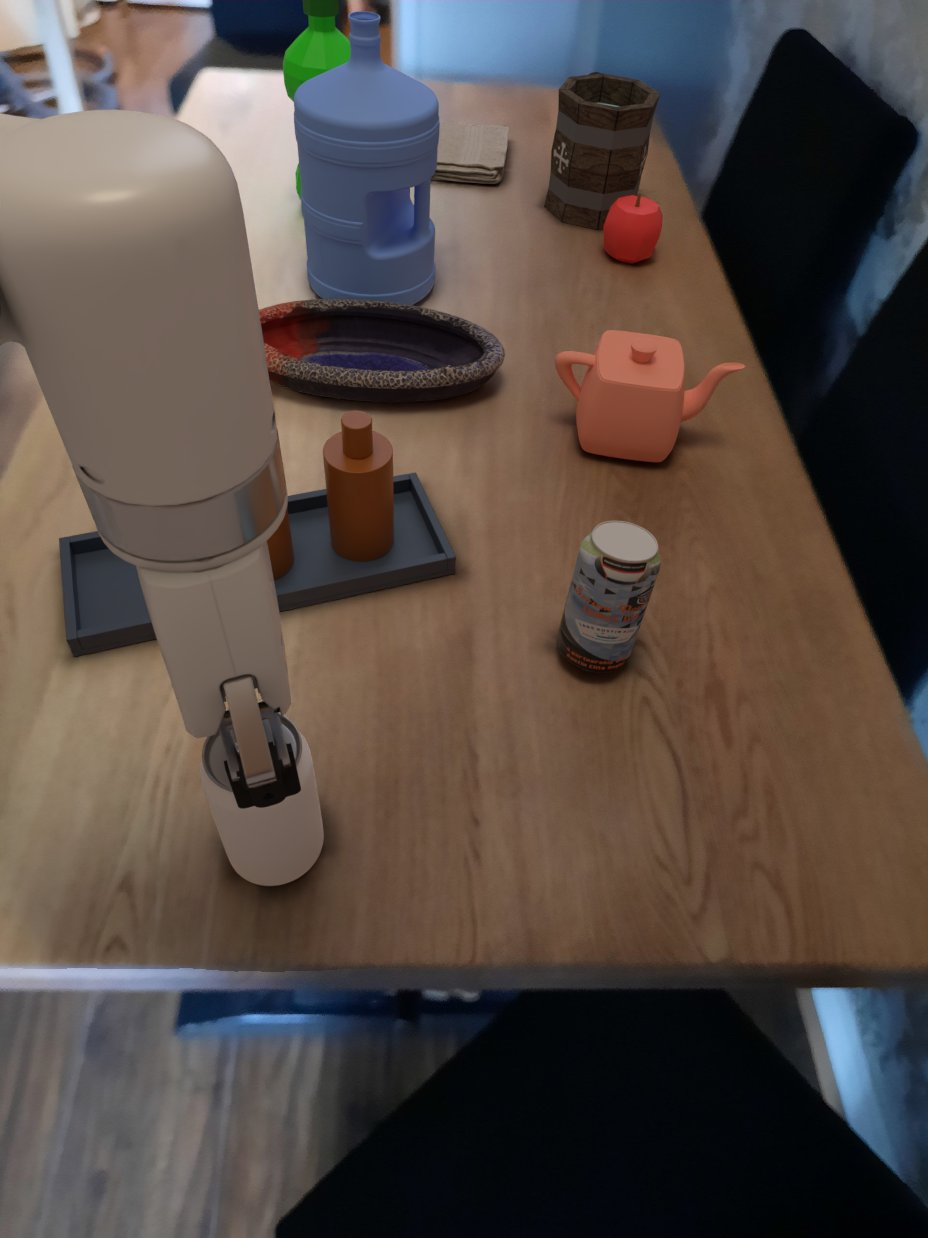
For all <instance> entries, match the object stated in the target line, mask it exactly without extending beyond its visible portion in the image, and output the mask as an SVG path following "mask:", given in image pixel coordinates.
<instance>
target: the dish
mask: <svg viewBox="0 0 928 1238" xmlns="http://www.w3.org/2000/svg"><path fill="white" fill-rule="evenodd" d="M259 316H260V322H261V328H262V335H263V341H264V348H265V354H266V362H267V369H268V375H269V381H270V382H272V383H274V384H276V385H279V386H281V387H283V388H285V389H288V390H291V391H295V392H299V393H303V394H307V395H314V396H319V397H325V398H333V399H339V400H340V399H341V400H347V401H348V400H349V401H350V400H351V401H360V402H373V403H374V402H375V403H376V402H377V403H381V402H383V403H411V402H426V401H427V402H429V401H436V400H437V401H439V400H443V399H449V398H454V397H457V396H463V395H465V394H468V393H470V392H473V391H475V390H477V389H478V388H480V387H482V386H483V385H485V384H486V383H488V382H489V381H490V380H491V379H492V378H493V377H494V376H495V374H496V373H497V371H498V369H500V368H501V366H502V365H503V364H504V360H505V358H506V357H505V356H506V352H505V351H506V350H505V348H504V346H503V343H501V341H500V340H499V339H498V338H497V337H496V336H495V335H494V333H492V332H490V331H489V330H487V329H486V328H484V327H482V326H480V325H478V324H476V323H474V322H472V321H470V320H467V319H464V318H462V317H459V316H456V315H454V314H450V313H447V312H443V311H438V310H435V309H430V308H427V307H421V306H416V305H405V304H399V303H391V302H383V301H371V300H356V299H322V298H316V299H315V298H314V299H313V298H311V299H302V300H293V301H287V302H283V303H278V304H274V305H269V306H267V307H263V308H260V309H259Z"/></svg>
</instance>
